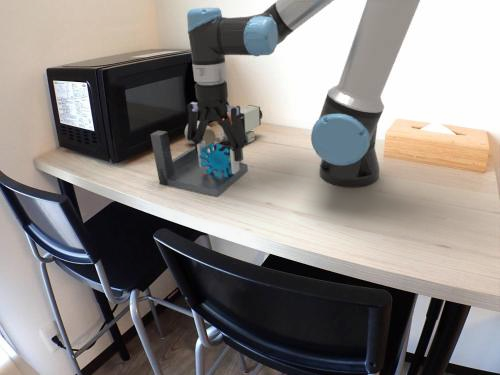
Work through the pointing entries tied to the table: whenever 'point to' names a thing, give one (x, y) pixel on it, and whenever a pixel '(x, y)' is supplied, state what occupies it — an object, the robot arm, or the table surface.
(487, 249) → the table surface
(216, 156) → the blue lobed star wheel
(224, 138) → the plunger
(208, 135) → the ceramic mug
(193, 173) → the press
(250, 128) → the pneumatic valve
